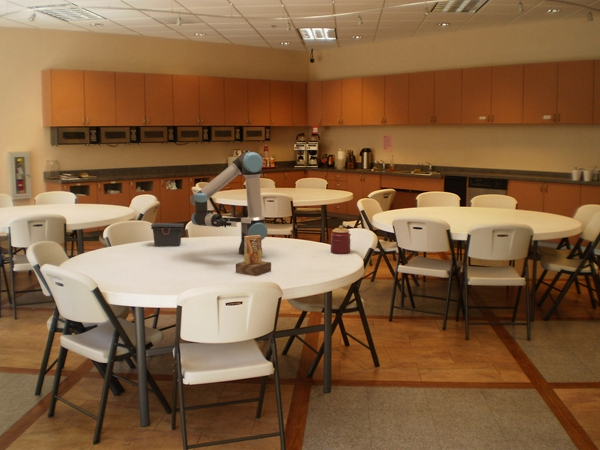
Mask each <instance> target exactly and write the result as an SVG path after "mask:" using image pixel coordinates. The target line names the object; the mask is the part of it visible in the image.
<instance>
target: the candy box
mask: <svg viewBox="0 0 600 450" xmlns="http://www.w3.org/2000/svg"><path fill="white" fill-rule="evenodd" d="M262 241H263V240H262V237H261V236H260V235H253V236H244V254H243V255H244V260H243V261H244V263H246V264H255V263H261V261H262V253H261V247H262Z"/></svg>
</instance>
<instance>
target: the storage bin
mask: <svg viewBox="0 0 600 450" xmlns="http://www.w3.org/2000/svg"><path fill="white" fill-rule="evenodd" d="M184 224H185V223H171V222H170V223H166V222H165V223H164V222H161V223H159V222H155V223H152V224H151V225H150V226H151V227H150V229H151V230H152V235H153V242H154V243H153V244H154V246H155V247H180V245H181V242H182V231H183V228H184Z"/></svg>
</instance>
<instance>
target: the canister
mask: <svg viewBox="0 0 600 450" xmlns="http://www.w3.org/2000/svg"><path fill="white" fill-rule="evenodd" d="M330 236H331V237H330V253H332V254H334V255H347V254H350V253H351V241H352V239H351V236H352V234H351V233H350V230H349V229H348V228H345V227H344V226H343V225H339V226H338V227H335V228H334V229H332V231H331V233H330Z"/></svg>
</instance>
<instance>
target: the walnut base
mask: <svg viewBox="0 0 600 450" xmlns="http://www.w3.org/2000/svg"><path fill="white" fill-rule="evenodd" d="M269 272H272V262H271V261H266V260H265V261H264V260H261V263H255V264H246V263H244V260H243V261H241V262H238V263H237V262H236V263H235V273H236V274H243V275H249V276H255V277H256V276H257V277H258V276H260V275H262V274H266V273H269Z"/></svg>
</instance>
